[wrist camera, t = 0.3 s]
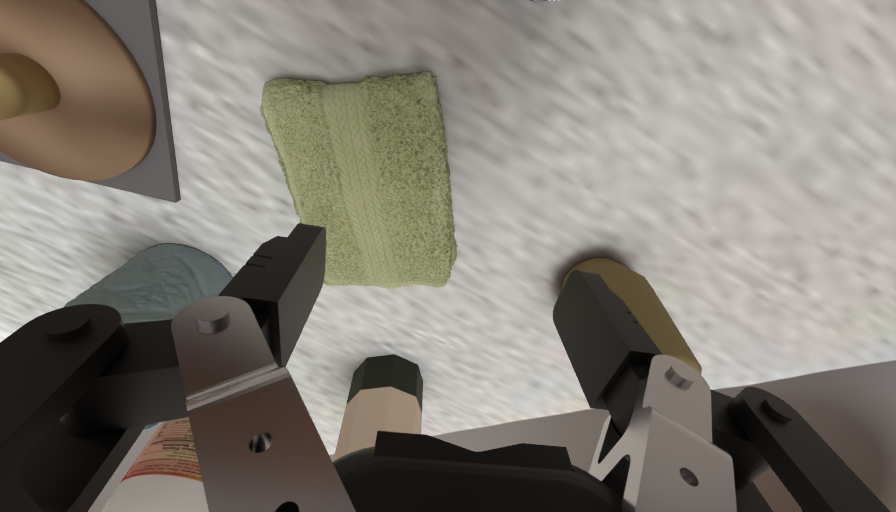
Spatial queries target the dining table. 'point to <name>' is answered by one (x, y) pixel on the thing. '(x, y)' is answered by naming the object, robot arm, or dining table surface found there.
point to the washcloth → (368, 175)
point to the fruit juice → (163, 475)
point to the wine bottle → (381, 402)
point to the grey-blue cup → (158, 285)
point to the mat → (136, 23)
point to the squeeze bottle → (642, 306)
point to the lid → (70, 92)
